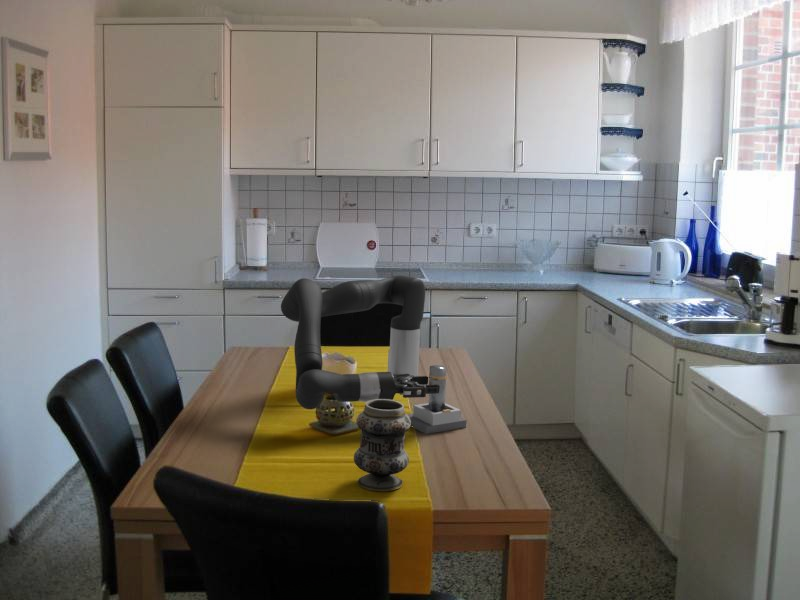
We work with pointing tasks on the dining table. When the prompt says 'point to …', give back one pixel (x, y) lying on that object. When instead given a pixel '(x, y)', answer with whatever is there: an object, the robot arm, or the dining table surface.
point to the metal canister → (438, 399)
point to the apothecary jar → (382, 444)
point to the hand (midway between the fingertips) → (433, 384)
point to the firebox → (436, 419)
